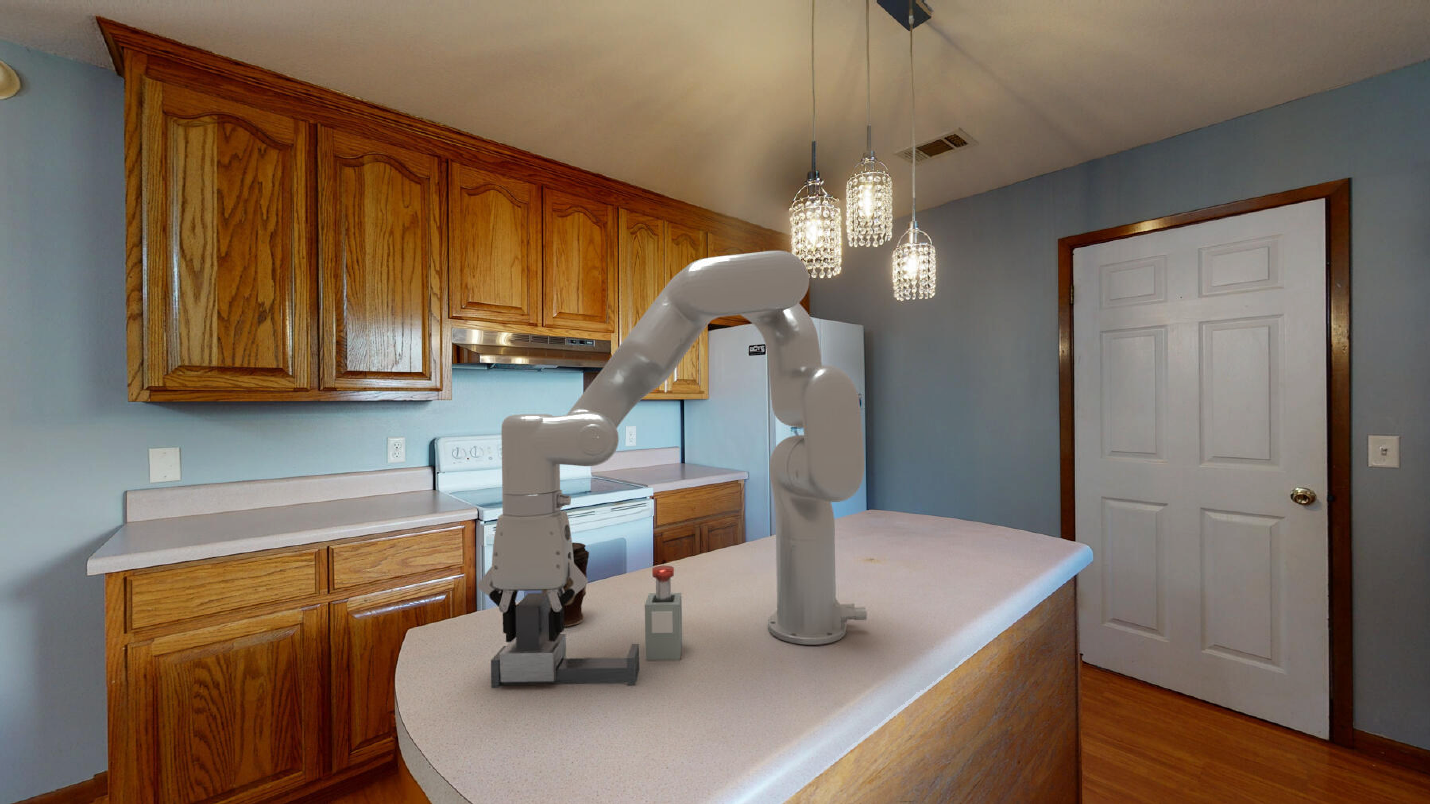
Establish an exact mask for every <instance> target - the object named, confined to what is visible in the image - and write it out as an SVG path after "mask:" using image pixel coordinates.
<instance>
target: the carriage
mask: <svg viewBox="0 0 1430 804" xmlns="http://www.w3.org/2000/svg"><path fill="white" fill-rule="evenodd" d="M549 612H550V599H549V596H548V593H542V592H533V593H532V592H529V593H527V594H526V595H525V596H524V597H523V598H522V599H521V600H520V601H519V602H518V603H516V637H515V639H514V640H513V641H511V642H508V643H507V645H505V646H506V647H505V648H504V649H503V651H502V652H501V653H500V673H501V682H538V681H554V680H555V679H556V667H557V665H558V664H559V662H560V661H561V659H567V656H566V655H567V654H566V652H567V636H566V634H567V633H560V635H559V636H558V637H557V639H556V640H555V642H550V641H549Z"/></svg>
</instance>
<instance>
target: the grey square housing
mask: <svg viewBox="0 0 1430 804" xmlns="http://www.w3.org/2000/svg"><path fill="white" fill-rule="evenodd" d="M682 599H683V598H682V592H671V602H661V603H656V592H654V593H653V592H650V593H648V596H647V598H646V599H645V603H644V633H645V634H644V638H645V642H644V643H645V648H644V649H645V661H672V660H673V661H674V660H677V661H678V660H681V657H682V655H681V654H682V649H683V615H682V614H683V612H682V611H683V610H682V607H683V606H682V605H683V603H682V602H683V601H682Z"/></svg>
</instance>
